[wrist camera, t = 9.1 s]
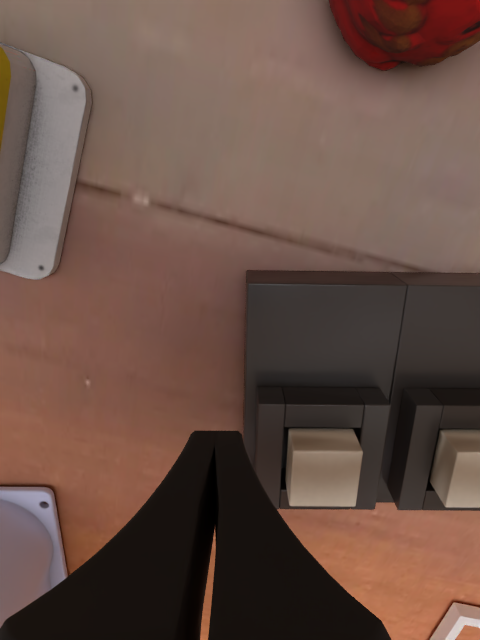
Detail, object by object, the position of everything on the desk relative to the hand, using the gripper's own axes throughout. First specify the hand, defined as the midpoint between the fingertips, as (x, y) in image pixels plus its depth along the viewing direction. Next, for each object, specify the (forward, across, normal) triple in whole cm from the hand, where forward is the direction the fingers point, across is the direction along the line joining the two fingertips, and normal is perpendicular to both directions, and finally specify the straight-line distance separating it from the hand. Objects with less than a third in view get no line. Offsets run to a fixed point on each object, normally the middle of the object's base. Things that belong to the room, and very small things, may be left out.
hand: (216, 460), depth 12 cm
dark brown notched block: (+10, -12, +3) cm, 16 cm away
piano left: (+10, -4, +3) cm, 12 cm away
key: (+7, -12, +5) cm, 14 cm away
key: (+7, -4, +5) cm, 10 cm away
